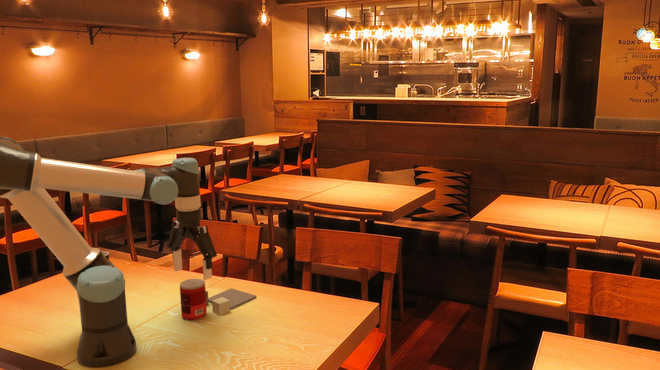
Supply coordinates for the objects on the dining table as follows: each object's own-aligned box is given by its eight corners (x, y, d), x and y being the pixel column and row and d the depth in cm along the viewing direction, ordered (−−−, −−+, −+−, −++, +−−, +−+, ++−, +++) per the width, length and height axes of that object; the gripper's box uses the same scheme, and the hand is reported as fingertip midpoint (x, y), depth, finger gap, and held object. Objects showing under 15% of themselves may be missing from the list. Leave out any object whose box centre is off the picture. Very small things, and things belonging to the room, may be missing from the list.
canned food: (209, 310, 181) (208, 278, 179) (201, 321, 173) (200, 288, 171) (186, 310, 182) (185, 278, 180) (177, 320, 174) (175, 287, 172)
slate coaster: (231, 309, 182) (231, 307, 182) (205, 301, 189) (205, 299, 188) (256, 297, 191) (256, 295, 191) (231, 290, 198) (231, 288, 198)
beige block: (219, 315, 178) (219, 303, 177) (212, 312, 180) (212, 300, 180) (230, 312, 180) (229, 300, 179) (223, 308, 183) (222, 297, 182)
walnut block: (201, 309, 183) (200, 296, 182) (189, 307, 184) (188, 294, 183) (208, 303, 187) (207, 291, 186) (197, 302, 188) (196, 289, 188)
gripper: (226, 211, 167) (229, 278, 171) (171, 201, 181) (176, 263, 185) (207, 216, 161) (211, 286, 165) (152, 205, 175) (157, 270, 179)
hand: (192, 274), depth 175 cm, fingers open, 13 cm apart
